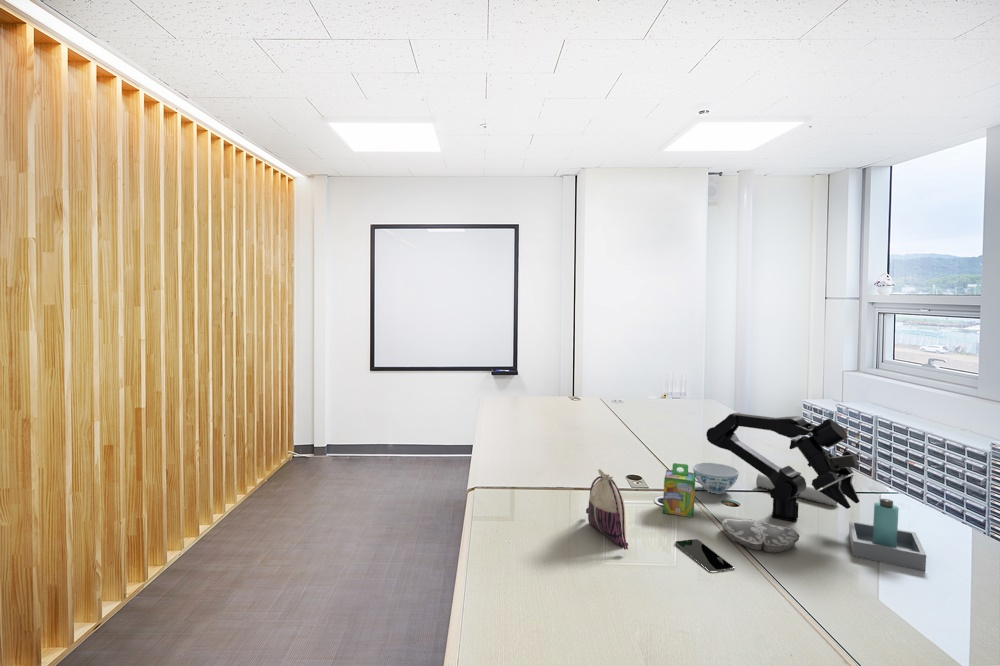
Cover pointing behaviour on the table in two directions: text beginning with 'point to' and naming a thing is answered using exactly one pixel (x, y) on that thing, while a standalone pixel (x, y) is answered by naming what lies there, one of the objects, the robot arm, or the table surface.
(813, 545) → the table surface
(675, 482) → the chalk box
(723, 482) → the chinaware
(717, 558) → the smartphone
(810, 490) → the tube
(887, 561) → the tray
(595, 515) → the pouch
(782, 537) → the brain slice
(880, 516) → the capped bottle
